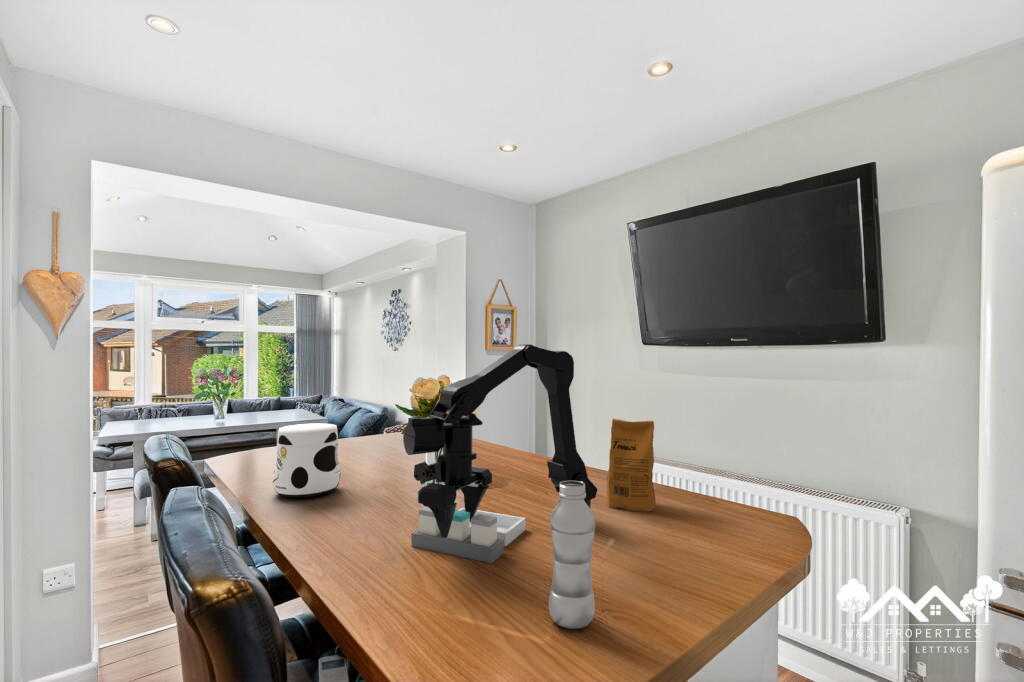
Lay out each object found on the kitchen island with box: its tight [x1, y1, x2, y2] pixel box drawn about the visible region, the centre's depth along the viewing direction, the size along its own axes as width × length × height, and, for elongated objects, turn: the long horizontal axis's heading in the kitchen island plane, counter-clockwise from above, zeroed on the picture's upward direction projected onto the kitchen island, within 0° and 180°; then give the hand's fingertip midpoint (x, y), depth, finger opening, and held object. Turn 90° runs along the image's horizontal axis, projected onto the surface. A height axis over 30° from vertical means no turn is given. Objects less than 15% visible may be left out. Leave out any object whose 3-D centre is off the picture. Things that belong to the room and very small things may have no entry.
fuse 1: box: [418, 506, 440, 536], centre depth 97 cm, size 4×3×7 cm
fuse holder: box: [411, 528, 505, 564], centre depth 94 cm, size 18×5×3 cm, turn 65°
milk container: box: [272, 422, 342, 498], centre depth 133 cm, size 17×17×18 cm
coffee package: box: [606, 417, 657, 512], centre depth 124 cm, size 10×12×22 cm
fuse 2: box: [471, 514, 497, 547], centre depth 92 cm, size 4×3×7 cm
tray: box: [458, 507, 527, 547], centre depth 104 cm, size 16×10×3 cm, turn 65°
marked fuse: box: [447, 509, 470, 541], centre depth 94 cm, size 4×3×7 cm
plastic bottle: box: [548, 481, 596, 630], centre depth 70 cm, size 6×7×20 cm
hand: (457, 529), depth 94 cm, fingers open, 9 cm apart
